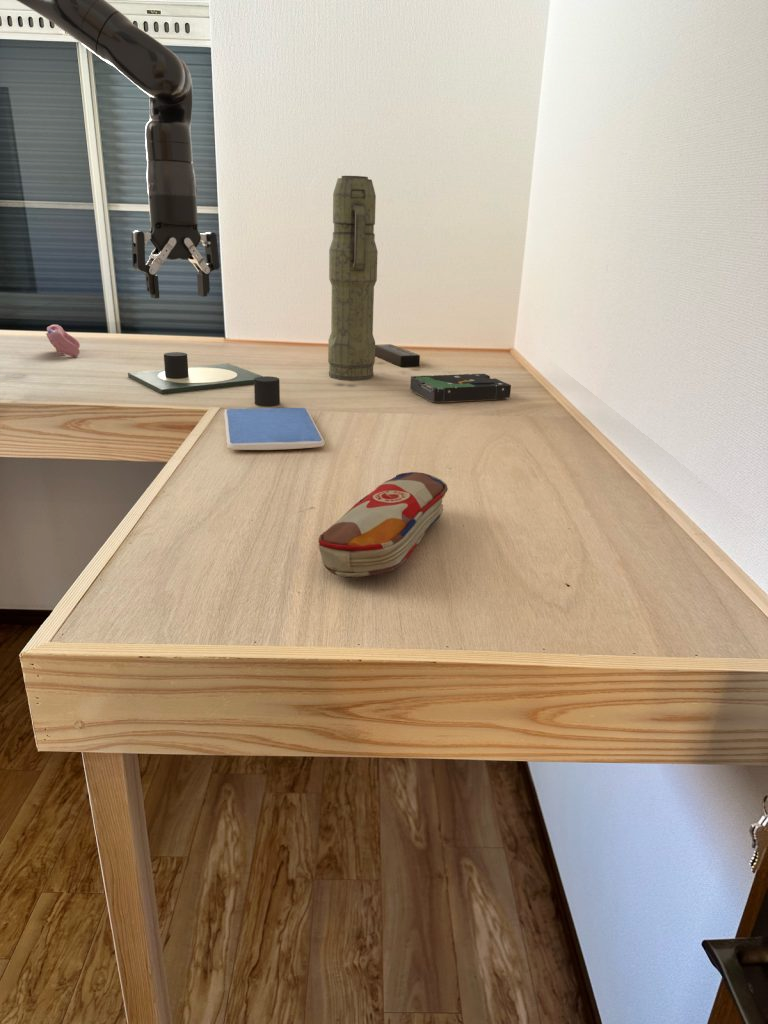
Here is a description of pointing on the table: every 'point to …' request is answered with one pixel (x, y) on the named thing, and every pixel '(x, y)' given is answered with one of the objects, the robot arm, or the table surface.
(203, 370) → the board
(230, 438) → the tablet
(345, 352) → the thermos
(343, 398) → the table surface
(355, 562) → the pencil case
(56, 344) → the pink bird figurine
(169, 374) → the dark round peg
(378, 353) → the multiport hub
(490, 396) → the disk drive
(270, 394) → the black cylinder puck
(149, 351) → the table surface
